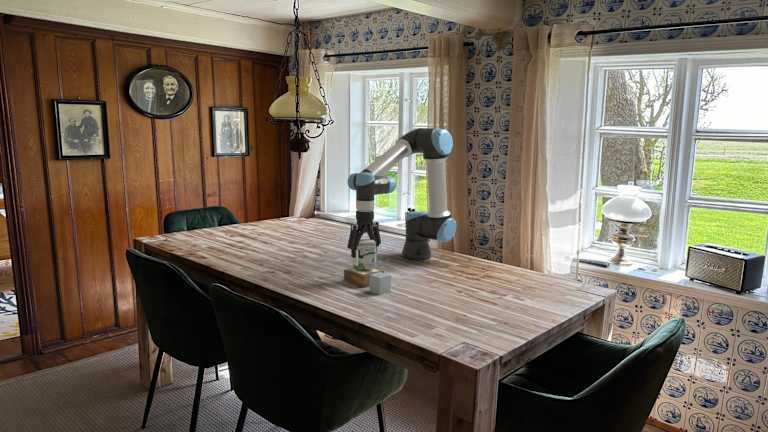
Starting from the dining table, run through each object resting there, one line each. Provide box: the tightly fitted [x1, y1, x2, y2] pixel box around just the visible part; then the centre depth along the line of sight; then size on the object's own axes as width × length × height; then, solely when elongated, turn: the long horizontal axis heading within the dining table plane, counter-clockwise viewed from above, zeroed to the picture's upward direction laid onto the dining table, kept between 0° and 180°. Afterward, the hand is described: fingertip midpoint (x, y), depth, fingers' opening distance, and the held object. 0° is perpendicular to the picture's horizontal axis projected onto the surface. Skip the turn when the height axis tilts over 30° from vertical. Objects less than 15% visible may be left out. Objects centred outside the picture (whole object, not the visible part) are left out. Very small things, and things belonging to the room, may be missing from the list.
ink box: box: [352, 238, 376, 270], centre depth 223 cm, size 9×5×12 cm, turn 105°
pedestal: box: [343, 267, 385, 289], centre depth 224 cm, size 12×12×5 cm
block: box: [368, 272, 392, 296], centre depth 212 cm, size 6×6×7 cm
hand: (364, 262), depth 224 cm, fingers closed on ink box, 9 cm apart
